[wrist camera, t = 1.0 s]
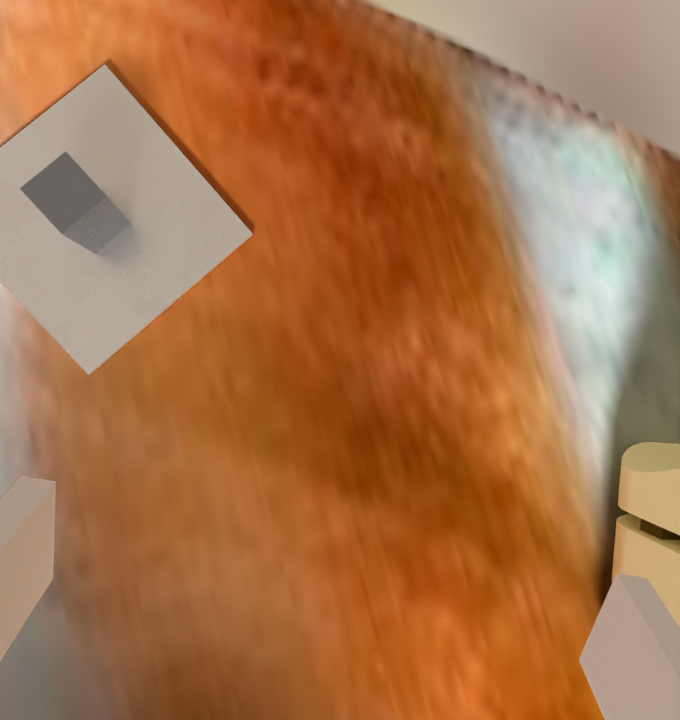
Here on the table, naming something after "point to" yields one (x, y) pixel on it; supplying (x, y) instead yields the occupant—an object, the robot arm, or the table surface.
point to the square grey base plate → (105, 220)
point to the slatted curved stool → (650, 519)
